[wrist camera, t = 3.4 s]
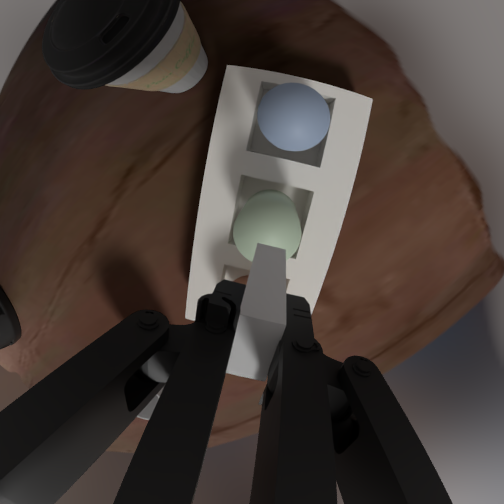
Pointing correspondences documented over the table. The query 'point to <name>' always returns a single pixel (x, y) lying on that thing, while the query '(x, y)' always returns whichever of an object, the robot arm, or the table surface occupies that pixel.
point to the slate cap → (293, 117)
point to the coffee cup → (124, 45)
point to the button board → (274, 182)
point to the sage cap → (267, 224)
